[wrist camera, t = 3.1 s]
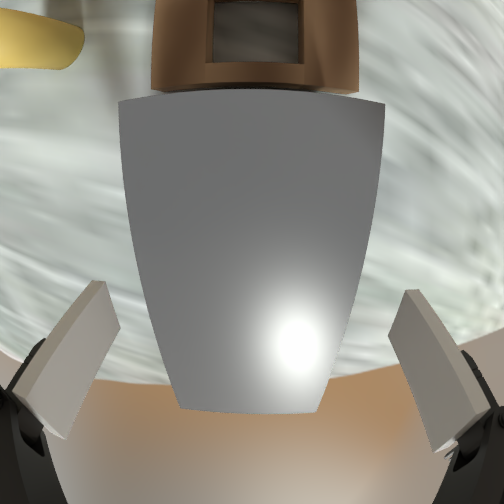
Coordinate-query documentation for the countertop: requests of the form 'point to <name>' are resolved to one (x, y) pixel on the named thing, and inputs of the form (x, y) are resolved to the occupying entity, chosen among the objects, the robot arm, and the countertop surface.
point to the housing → (250, 237)
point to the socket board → (256, 73)
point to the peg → (37, 41)
